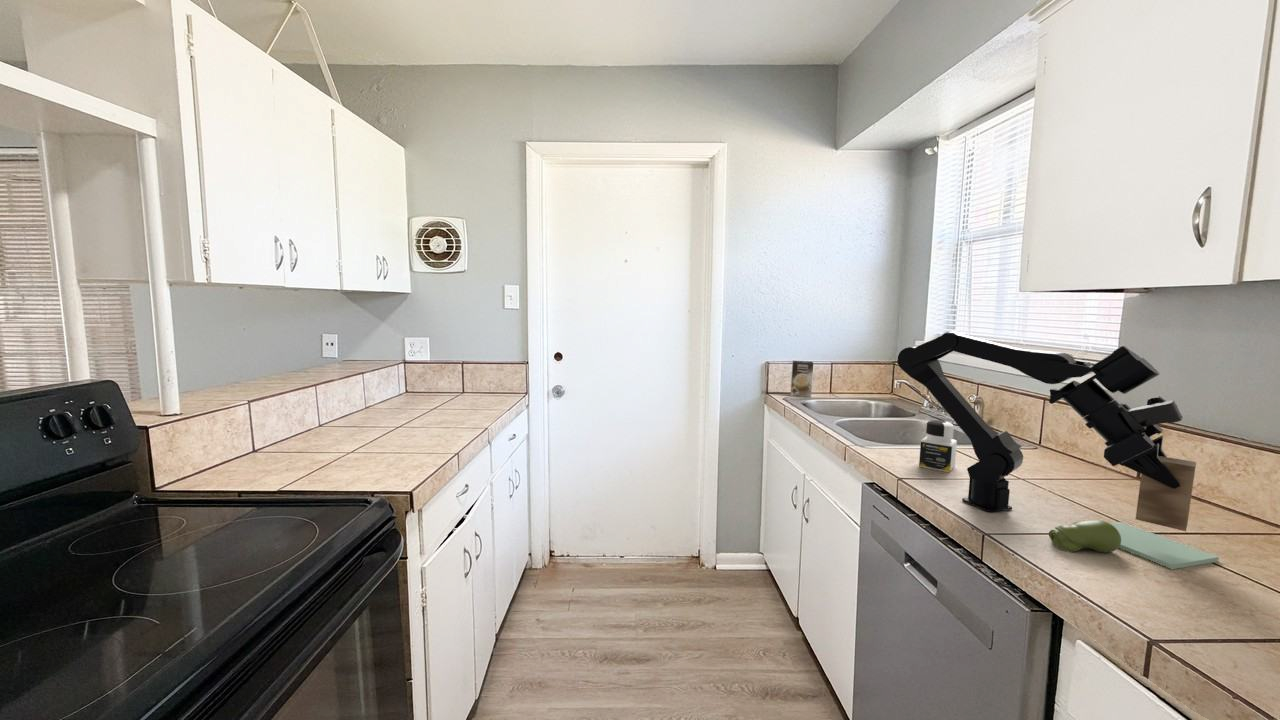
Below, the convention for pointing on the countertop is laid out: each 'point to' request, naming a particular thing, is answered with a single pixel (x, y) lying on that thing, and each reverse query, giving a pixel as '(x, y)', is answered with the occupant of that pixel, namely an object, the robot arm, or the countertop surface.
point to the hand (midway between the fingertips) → (1178, 484)
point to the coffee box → (801, 379)
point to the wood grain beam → (1167, 496)
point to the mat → (1160, 548)
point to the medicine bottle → (938, 446)
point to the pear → (1086, 536)
